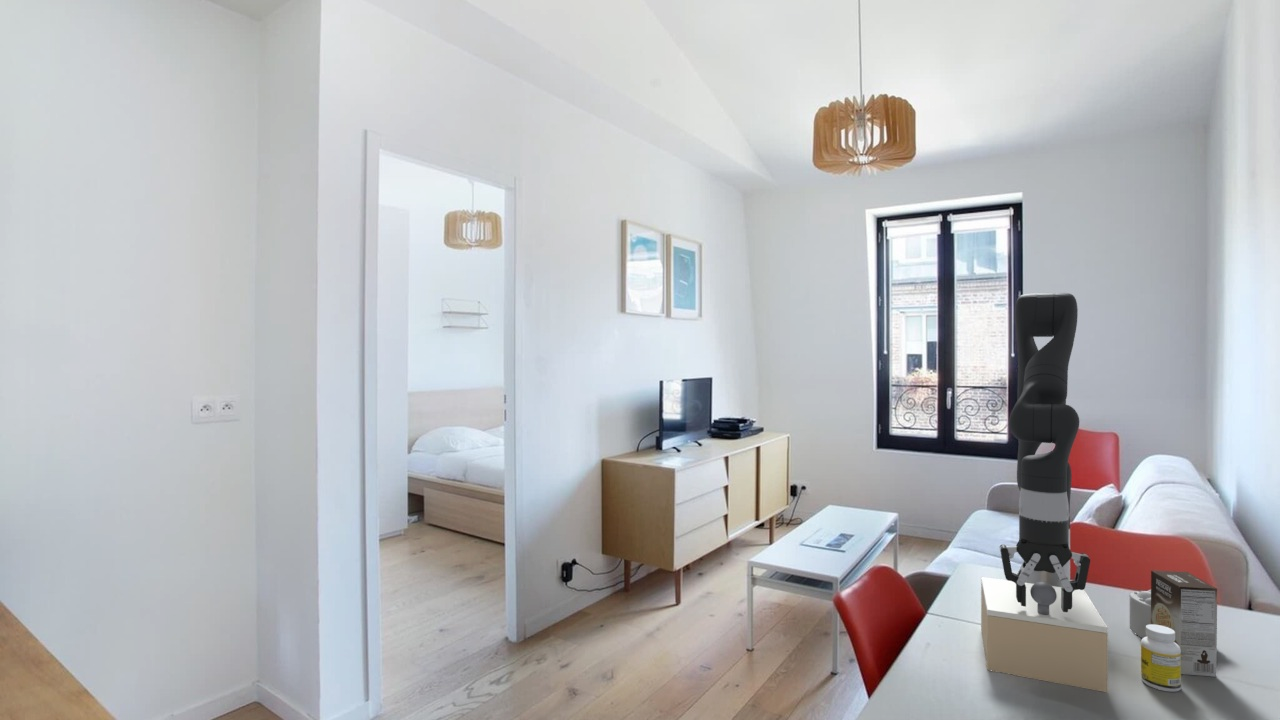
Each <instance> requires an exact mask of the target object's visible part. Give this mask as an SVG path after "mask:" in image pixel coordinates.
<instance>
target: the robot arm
mask: <svg viewBox="0 0 1280 720" xmlns="http://www.w3.org/2000/svg"><path fill="white" fill-rule="evenodd" d="M1078 310H1079V309H1078V303H1077V299H1076V297H1075V296H1074V295H1073V294H1072V293H1068V292H1047V293H1046V292H1045V293H1044V292H1039V293H1034V292H1033V293H1025V294H1021V295H1019V296H1018V298H1017V300H1016V302H1015V305H1014V323H1015V324H1014V326H1015V336H1016V337H1015V338H1016V339H1015V340H1016V351H1017V368H1018V369H1017V390H1016V391H1017V401H1016V402H1015V404H1014V406H1013V408H1012V410H1011V412H1010V416H1009V419H1008V427H1009V431H1010V434H1012V437H1014V438H1015V439H1016V440H1018V448H1017V449H1018V450H1017V464H1016V466H1017V467H1016V482H1017V483H1016V484H1017V488H1018V490H1019V491H1020V493H1019V502H1018V512H1019V513H1018V519H1019V520H1018V522H1019V523H1018V542H1017V543H1016V545H1005V544H1001V545H1000V546H999V552H1000V556H1001V557H1000V558H1001V562H1002V567H1003V568H1002V569H1003V574H1004V576H1005V580H1008V581H1012V582H1014V583H1016V598H1017V601H1018V602H1020V603H1021V606H1025V607H1026V586H1025V583H1032V584H1035V583H1037V582H1045V583H1048V584H1050V585H1051V586H1055V587H1063V588H1061V609H1062V611H1063V612H1068V609H1071V608H1072V592H1073V591H1074V590H1078V589H1079V590H1085V588H1086V583H1087V581H1088V575H1089V570H1090V564H1091V558H1090V557H1089V556H1088V554H1086V553H1085V552H1081V553H1077V552H1074V551H1071V514H1070V512H1071V508H1070V507H1071V491H1072V478H1073V477H1072V467H1071V465H1070V463H1069V458H1070V454H1071V451H1072V447H1073V445H1074V443H1075V440H1076V437H1077V435H1078V431H1079V428H1080V417H1079V414H1078V412H1077V411H1076V409H1075V408H1074V407H1073V406H1072V405H1069V404H1067V397H1068V379H1069V377H1068V376H1069V374H1068V372H1069V364H1070V360H1071V359H1070V358H1071V356H1072V350H1073V346H1074V344H1075V343H1074V342H1075V338H1076V332H1077V326H1078ZM1036 337H1037V338H1039V337H1040V338H1051V340H1049V342H1047V343H1046V344H1045V345H1044V346H1042V347H1041V348H1040V349H1038V346H1037V343H1036V341H1035V338H1036ZM1042 443H1045V444H1055V445H1054V447H1053V449H1051V451H1049V452H1046V453H1040V454H1036V452H1037V451H1038V449H1039V447H1040V446H1041V445H1042ZM1015 553H1017V554H1018V555H1019V556H1020V557H1021V559H1022V560H1023V562H1022V564H1020V568H1019V570H1018V571H1017V572H1016V573H1014V572H1013V570H1012V564H1011V559H1013V558H1014V556H1015ZM1071 559H1072V560H1073V563H1074V565H1075V566H1076V569H1075V570H1076V571H1075V576H1074V580H1073V579H1072V580H1071Z"/></svg>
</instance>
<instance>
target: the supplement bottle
mask: <svg viewBox="0 0 1280 720" xmlns="http://www.w3.org/2000/svg"><path fill="white" fill-rule="evenodd" d="M1146 635H1147V637H1144V638H1141V641H1140V665H1141V666H1140V676H1141V681H1142V682H1143V683H1144V684H1145V685H1147V686H1148V687H1151V688H1152V689H1156V690H1159V691H1162V692H1169V693H1170V692H1171V693H1174V692H1175V693H1176V692H1179V691H1180V690H1181V689H1182V674H1181V650H1180V647H1179V646H1178V644H1176V643H1175V642H1174V641H1175V631H1174V630H1172V629H1170V628H1168V627H1165V626H1161V625H1155V624H1150V625H1146Z"/></svg>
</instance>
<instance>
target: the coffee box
mask: <svg viewBox="0 0 1280 720" xmlns="http://www.w3.org/2000/svg"><path fill="white" fill-rule="evenodd" d="M1150 590H1151V624H1155V625H1161V626H1165V627H1168V628H1170V629H1172V630H1174V631H1175V641H1174V642H1175V643H1176V644H1178V646H1179V647H1180V650H1181V675H1188V676H1189V675H1191V676H1202V677H1211V678H1212V677H1213V678H1214V677H1215V678H1217V657H1218V655H1217V654H1218V653H1217V645H1218V644H1217V642H1218V641H1217V639H1218V638H1217V637H1218V636H1217V635H1218V588H1216V587H1215V586H1213V585H1211V584H1209V583H1207V582H1206V581H1204V580H1203V579H1200V578H1198V577H1197V576H1195V575H1193V574H1192V573H1189V572H1188V571H1175V570H1174V571H1172V570H1153V569H1152V570H1150Z"/></svg>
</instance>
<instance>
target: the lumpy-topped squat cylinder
mask: <svg viewBox="0 0 1280 720" xmlns="http://www.w3.org/2000/svg"><path fill="white" fill-rule="evenodd" d="M1150 624H1151V589H1148V590H1137V591H1132V592H1130V593H1129V630H1130V629H1131V630H1132V631H1133V632H1134V633H1133V632H1132V631H1131V630H1130V631H1131V632H1132V633H1133V634H1135V633H1136V634H1137V635H1138V636H1137V635H1136V634H1135V635H1136V636H1137V637H1139V636H1140V637H1139V638H1141V637H1142V638H1141V639H1143V638H1144V637H1147V635H1146V625H1150Z"/></svg>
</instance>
